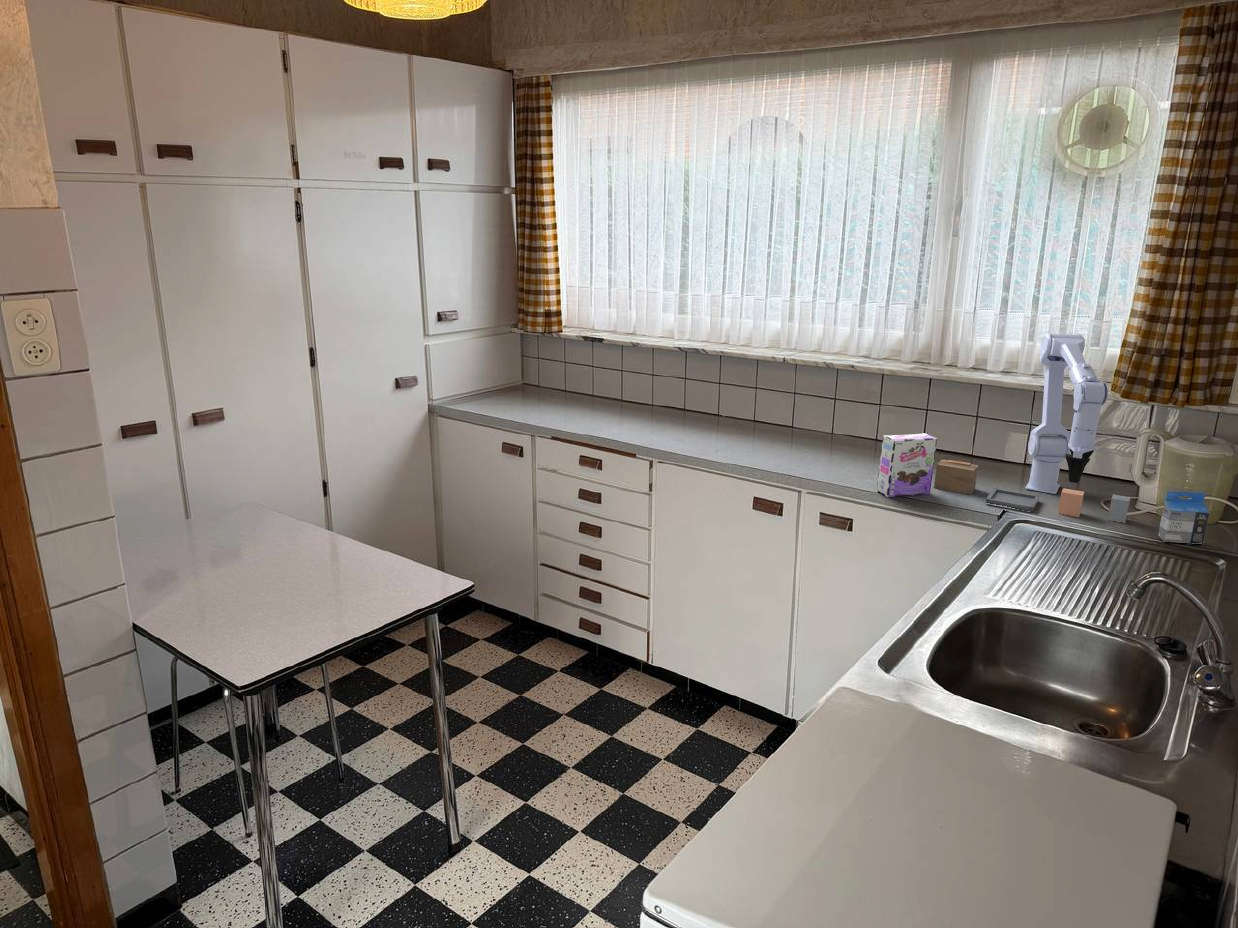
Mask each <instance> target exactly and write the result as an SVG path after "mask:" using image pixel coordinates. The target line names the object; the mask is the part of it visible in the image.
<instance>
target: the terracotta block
mask: <svg viewBox="0 0 1238 928" xmlns="http://www.w3.org/2000/svg"><path fill="white" fill-rule="evenodd" d="M1084 495H1085V491H1083V490H1077V489H1070V488H1062V490H1061V494H1060V498H1059V504H1058V509H1057V514H1058V513H1062V514H1061V515H1063V514H1064V516H1068V515H1069V517H1074V518H1080V515H1081V513H1082V506H1083V501H1084Z"/></svg>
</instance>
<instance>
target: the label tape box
mask: <svg viewBox="0 0 1238 928" xmlns="http://www.w3.org/2000/svg"><path fill="white" fill-rule="evenodd" d="M1206 495H1207V493H1206V492H1195V491H1179V490H1178V491H1177V490H1176V491H1175V490H1167V492H1166V495H1165V499H1164V502H1163V507H1162V513H1161V519H1160V523H1159V529H1158V534H1157V537H1158V536H1160V537H1161V538H1163V539H1165V540H1173V541H1180V542H1188V543H1202V542H1203V543H1204V542H1205V536H1206V531H1207V529H1208V522H1209V517H1210V512H1209V510H1208V508H1207V507H1206V504H1205V503H1204V501H1205V498H1206ZM1185 496H1186V497H1187V498H1181V497H1185ZM1188 497H1189V498H1188Z"/></svg>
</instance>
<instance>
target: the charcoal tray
mask: <svg viewBox="0 0 1238 928" xmlns="http://www.w3.org/2000/svg"><path fill="white" fill-rule="evenodd" d="M1039 501H1040V495H1038V494H1031V493H1025V492H1020V491H1013V490H1007V489H1003V488H996V487H994V488H993V489H992V490H991V492H990V493H989V494H988V496H987V498H986V499H985V504H986V503H990V504H996V505H1002V506H1007V507H1011V508H1015V509H1019V510H1024V511H1030V512H1032V511H1033V512H1034V510H1035V509H1036V507H1035V506H1037V505H1038V503H1039ZM1036 504H1037V505H1036ZM1034 508H1035V509H1034ZM1024 511H1023V512H1024ZM1033 512H1032V513H1033Z"/></svg>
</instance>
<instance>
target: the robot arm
mask: <svg viewBox="0 0 1238 928" xmlns="http://www.w3.org/2000/svg"><path fill="white" fill-rule="evenodd" d="M1085 347H1086V341H1085V337H1084V336H1083V335H1082V334H1079V333H1077V334H1065V333H1064V334H1063V333H1049V332H1048V333H1045V334H1044V336H1043V337H1042V339H1041V341H1040V348H1039V363H1040V364H1042V365H1043V366H1044V383H1043V396H1042V397H1043V399H1042V401H1043V402H1042V416H1041V418H1042V419H1041V424H1039V425H1038V426H1036V427H1035V428H1033V429H1032V430H1031V431H1030V434H1029V435H1030V436H1029V440H1028V444H1027V450H1028V451H1027V452H1028V454H1029V455H1030V457H1032V463H1031V469H1030V475H1029V481H1028V483H1027V484H1026V486H1025V487H1024V489H1025V490H1031V491H1035V492H1041V493H1047V494H1053V495H1056V494H1057V493H1058V490H1059V489H1060V486H1061V484H1060V483H1058V480H1059V475H1060V469H1061V463H1062V462H1064V460H1066V463H1067V470H1068V482H1069V483H1074V484H1079V482H1080V479H1081V478H1082V476H1083V473H1084V471H1085V469H1086V466H1087V465H1088V464H1089V462H1090V461H1091V456H1092V454H1094V451H1099V449H1100V448H1099V447H1100V446H1098V445H1095V443H1096V442H1095V441H1096V436H1097V431H1098V426H1099V420H1100V414H1101V410H1102V406H1103V405H1105V404H1106V402H1107V401H1108V400H1107V399H1108V396H1109V387H1108V384H1107V382H1105V381H1102V380H1099V379H1098V377H1097V374H1096V373H1095V370H1094V368H1093V367H1092V365H1091V364H1089V363H1086V361H1085V357H1084V355H1083V353H1084V351H1085ZM1067 367H1068V368H1069V371H1068V377H1069V378H1070V379H1069V380H1070V381H1071V385H1073V388H1074V390H1073V405H1072V406H1073V410H1074V411H1073V412H1074V414H1073V419H1072V424H1071V429H1070V431H1068V430H1067V429H1066V428H1065V427H1064V426H1063V425H1062V412H1063V409H1062V408H1063V397H1064V395H1063V394H1064V380H1065V379H1064V377H1065V370H1066V368H1067Z"/></svg>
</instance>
